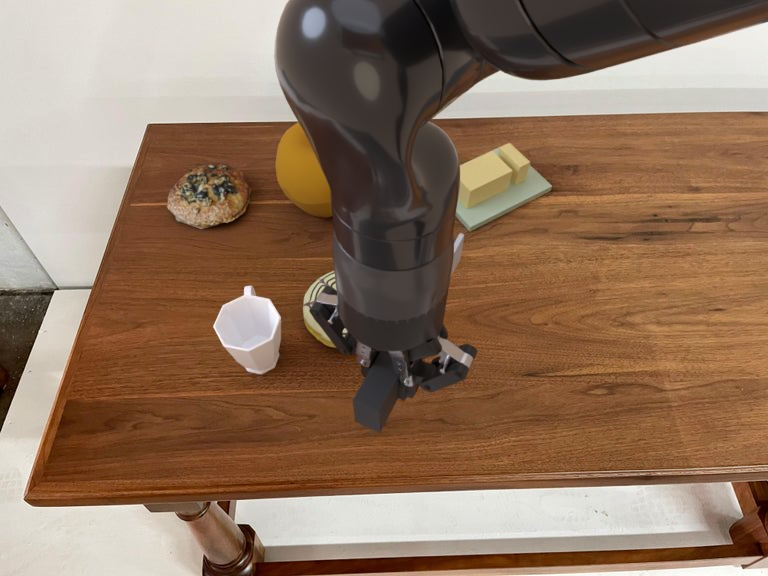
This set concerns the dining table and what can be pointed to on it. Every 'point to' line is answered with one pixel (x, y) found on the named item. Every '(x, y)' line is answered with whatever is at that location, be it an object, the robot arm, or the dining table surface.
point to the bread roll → (209, 196)
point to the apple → (302, 174)
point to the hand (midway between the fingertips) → (390, 383)
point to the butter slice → (514, 162)
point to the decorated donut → (309, 301)
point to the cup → (250, 331)
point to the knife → (384, 380)
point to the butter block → (483, 179)
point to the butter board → (503, 200)
